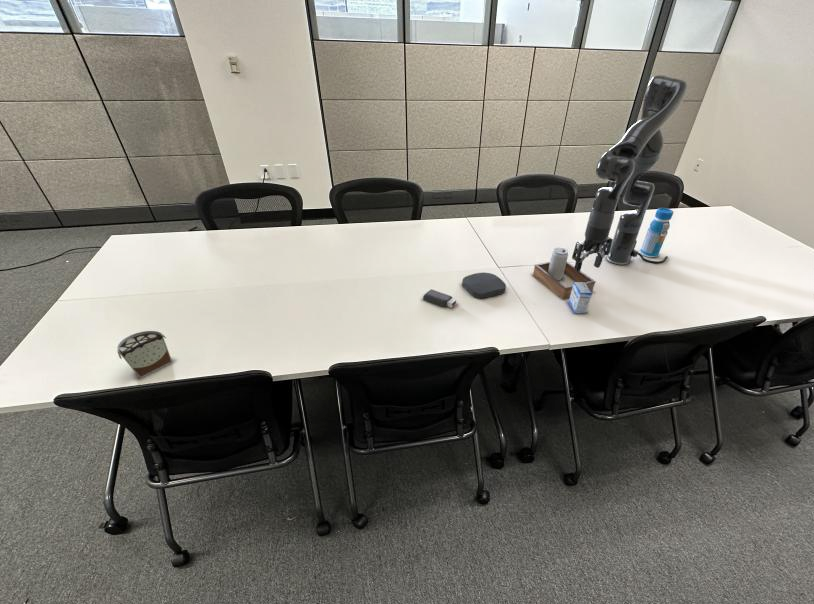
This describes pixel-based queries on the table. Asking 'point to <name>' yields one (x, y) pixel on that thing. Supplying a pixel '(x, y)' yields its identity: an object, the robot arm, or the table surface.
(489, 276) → the media streaming box
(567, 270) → the wooden tray
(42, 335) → the table surface
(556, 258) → the beverage can
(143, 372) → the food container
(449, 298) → the usb drive
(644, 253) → the beverage bottle
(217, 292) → the table surface
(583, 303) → the medicine box
